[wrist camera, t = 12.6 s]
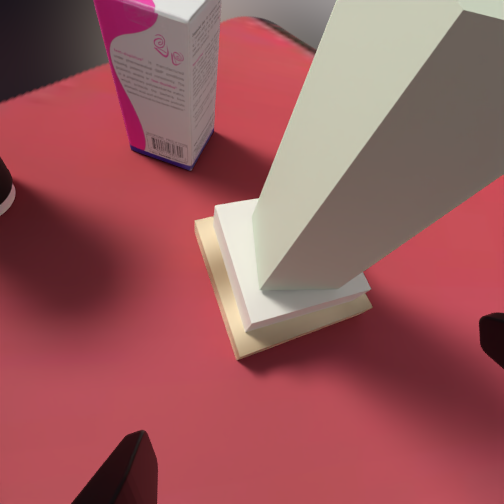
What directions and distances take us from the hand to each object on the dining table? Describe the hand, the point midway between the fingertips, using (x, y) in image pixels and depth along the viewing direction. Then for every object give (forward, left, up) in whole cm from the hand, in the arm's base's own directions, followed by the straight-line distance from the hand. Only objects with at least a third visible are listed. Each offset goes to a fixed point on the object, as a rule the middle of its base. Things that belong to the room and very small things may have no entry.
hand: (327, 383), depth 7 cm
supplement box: (+22, -1, -13) cm, 26 cm away
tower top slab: (+7, -5, -11) cm, 14 cm away
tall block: (+7, -5, -8) cm, 12 cm away
